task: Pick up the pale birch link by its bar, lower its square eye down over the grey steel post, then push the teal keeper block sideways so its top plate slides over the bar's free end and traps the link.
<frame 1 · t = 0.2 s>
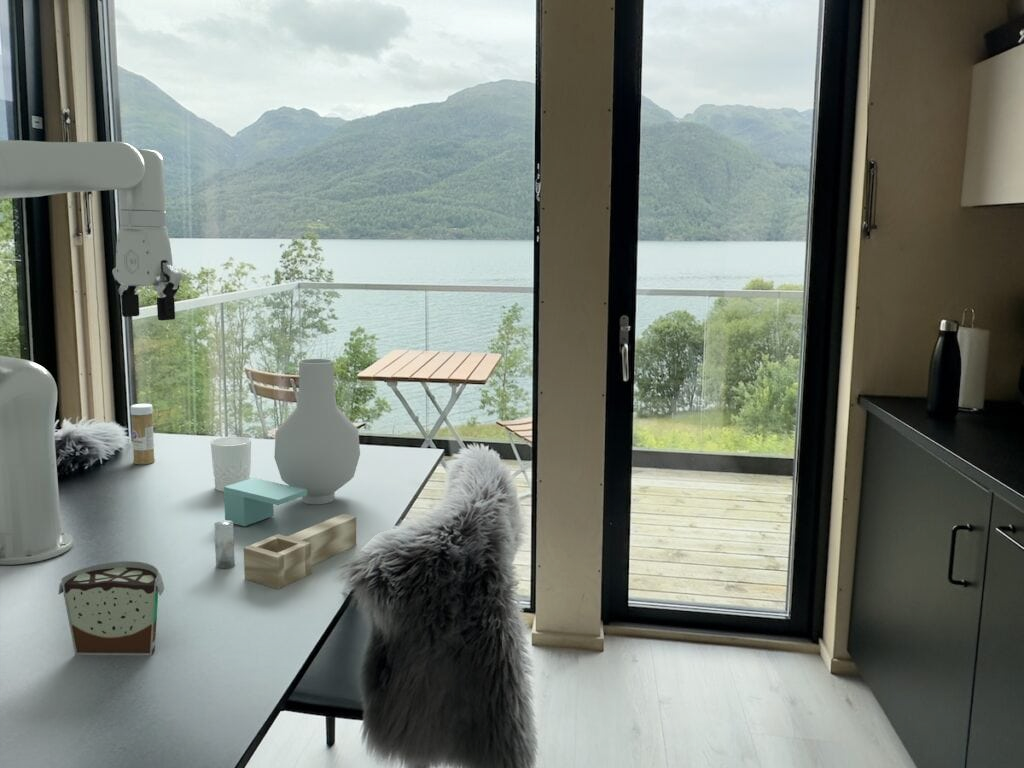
hand: (148, 318, 145), 37 cm above the table, fingers open, 9 cm apart
white cup: (232, 488, 167), on the table
link: (278, 576, 124), on the table
post: (225, 565, 127), on the table
keeper: (265, 505, 146), point 4 cm above the table, slide at 0.0 cm
sprinkles bottle: (144, 463, 184), on the table
vase: (318, 500, 161), on the table
food container: (124, 644, 102), on the table
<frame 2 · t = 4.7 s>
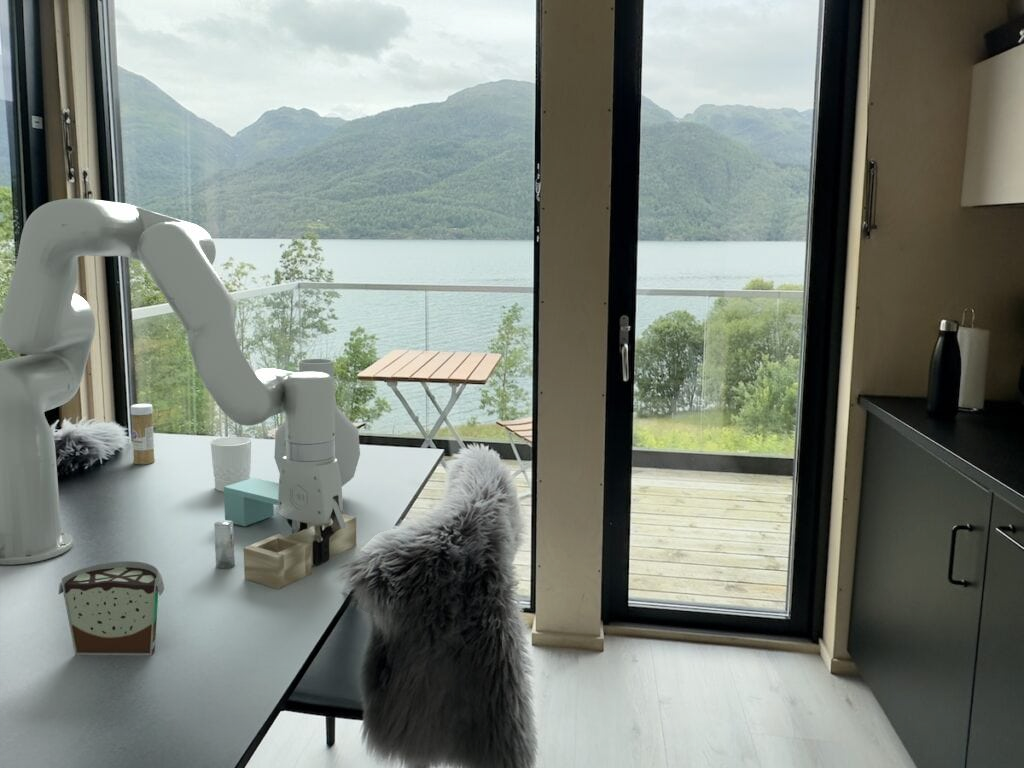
hand: (312, 558, 130), 0 cm above the table, fingers closed on link, 3 cm apart
link: (278, 576, 124), on the table, touching gripper
everything else where it was.
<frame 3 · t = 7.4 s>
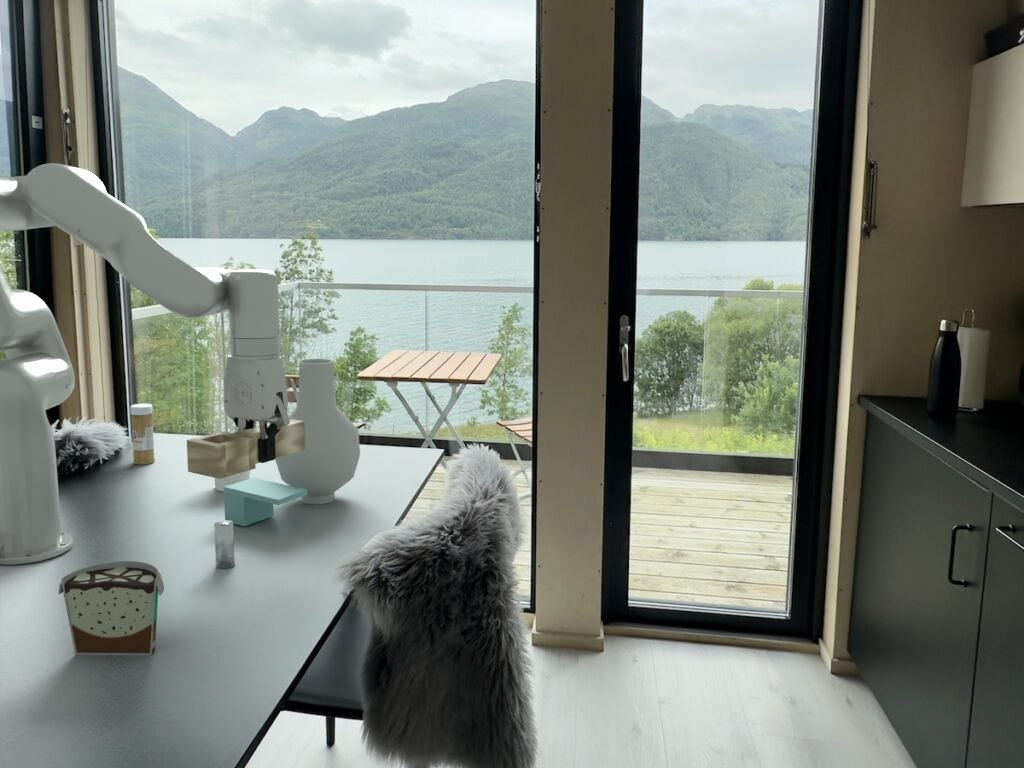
hand: (258, 458, 131), 16 cm above the table, fingers closed on link, 3 cm apart
link: (222, 470, 125), point 16 cm above the table, touching gripper
everything else where it was.
when the fingers open (2 cm above the table, at t = 10.1 s): link drops 1 cm, on the table.
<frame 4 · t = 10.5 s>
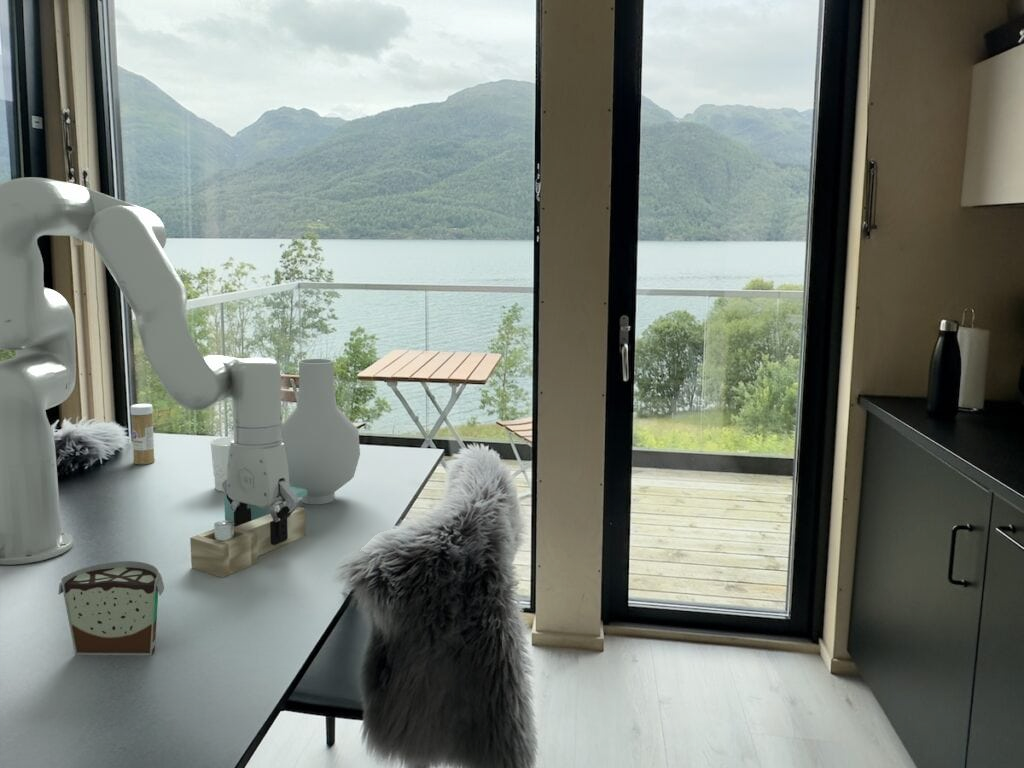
hand: (260, 536, 133), 2 cm above the table, fingers open, 7 cm apart
link: (224, 565, 127), on the table
everything else where it was.
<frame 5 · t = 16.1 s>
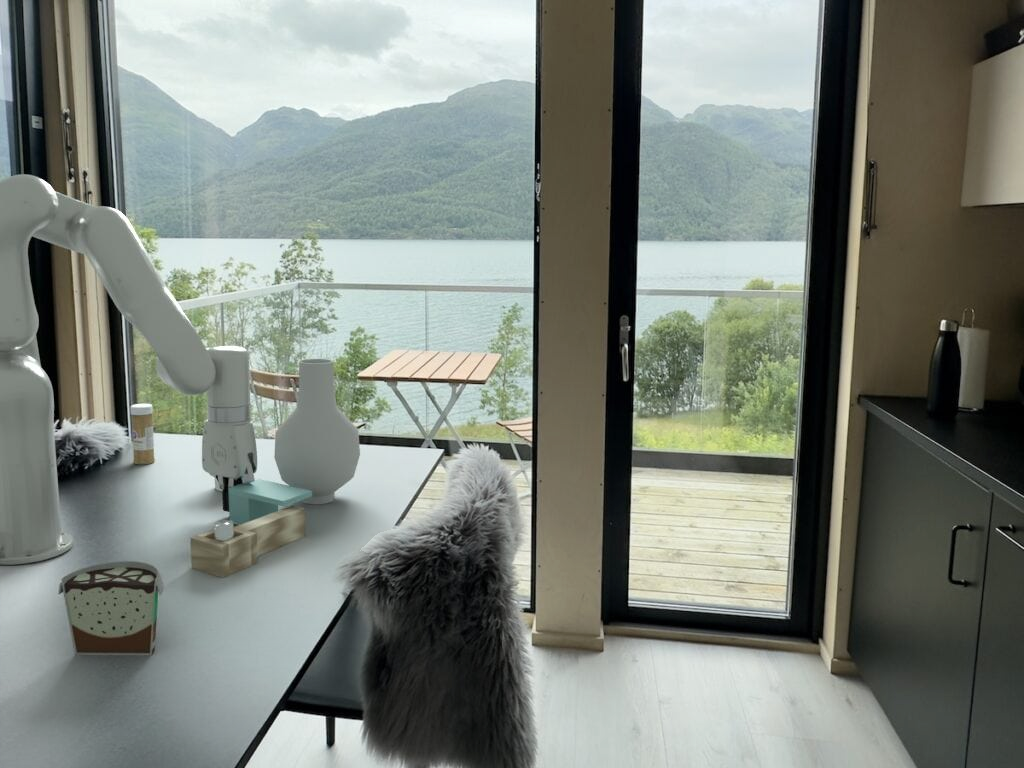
hand: (232, 509, 150), 1 cm above the table, fingers closed
keeper: (270, 506, 145), point 4 cm above the table, slide at 1.2 cm, touching gripper
everything else where it was.
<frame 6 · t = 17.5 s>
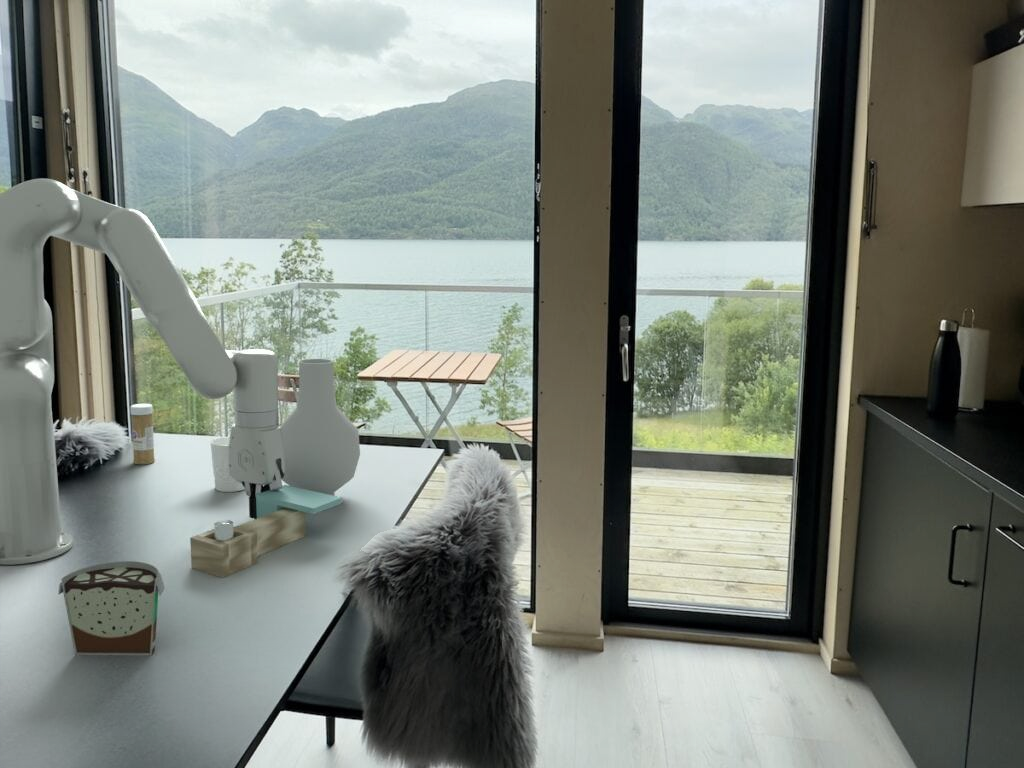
hand: (259, 516, 147), 1 cm above the table, fingers closed
keeper: (299, 513, 142), point 4 cm above the table, slide at 8.1 cm, touching gripper
everything else where it was.
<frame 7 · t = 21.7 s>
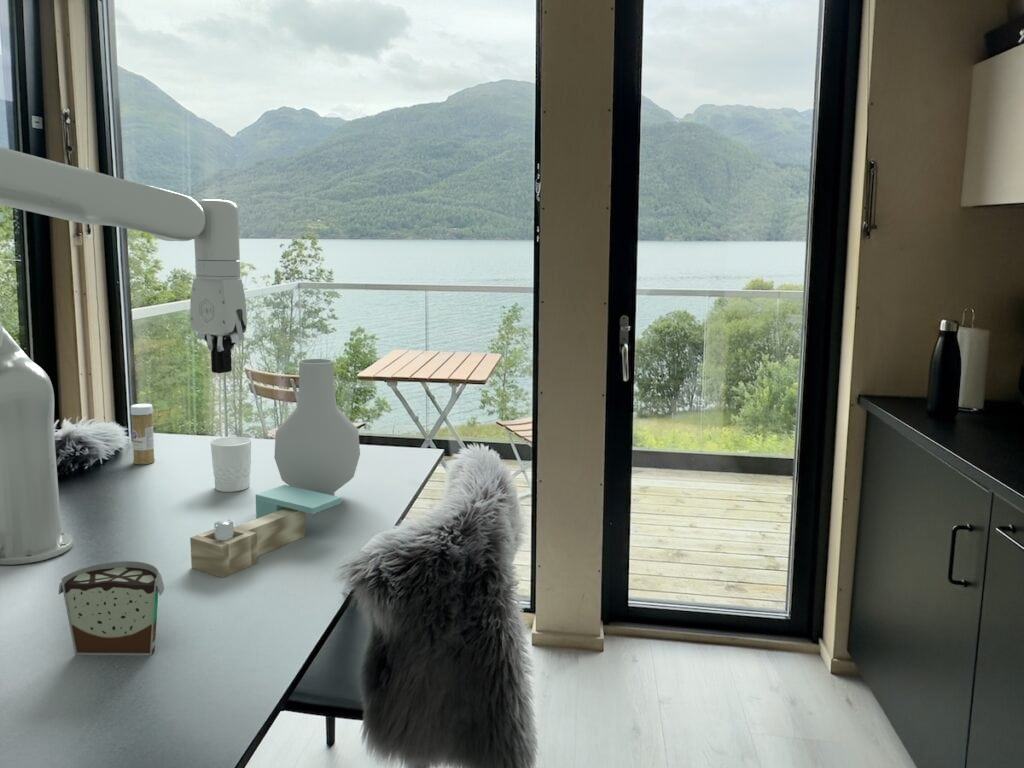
hand: (221, 371, 146), 27 cm above the table, fingers closed
keeper: (298, 513, 142), point 4 cm above the table, slide at 8.0 cm
everything else where it was.
at the end: link 0.1 cm from the post (horizontally); link on the table; keeper slide at 8.0 cm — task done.
